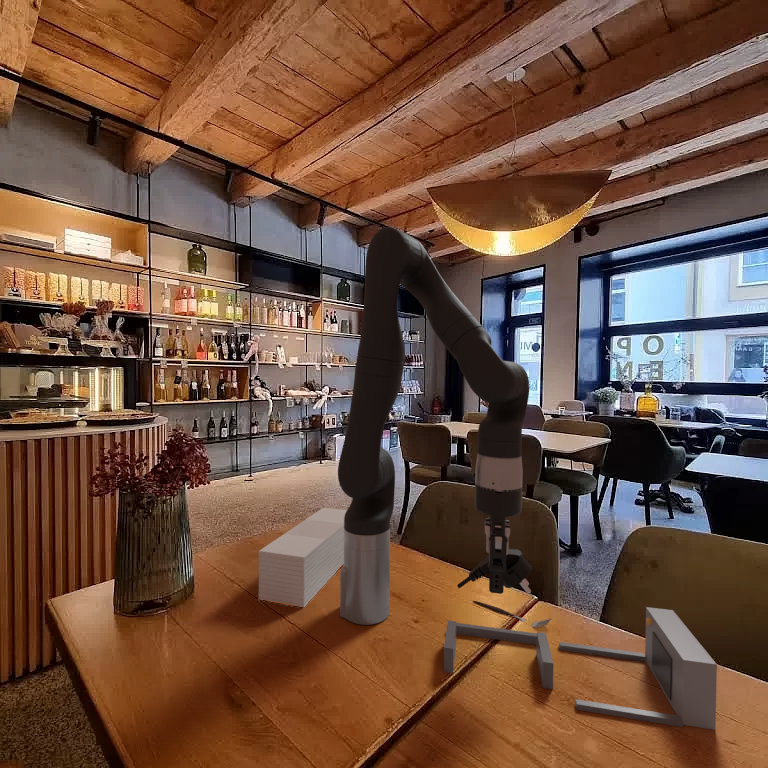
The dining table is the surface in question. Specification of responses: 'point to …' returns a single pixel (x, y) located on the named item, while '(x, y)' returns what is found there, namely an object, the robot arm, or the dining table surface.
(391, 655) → the dining table surface
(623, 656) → the socket block
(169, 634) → the dining table surface
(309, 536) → the stack of papers
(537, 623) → the fork
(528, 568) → the power plug
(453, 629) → the plug holster
